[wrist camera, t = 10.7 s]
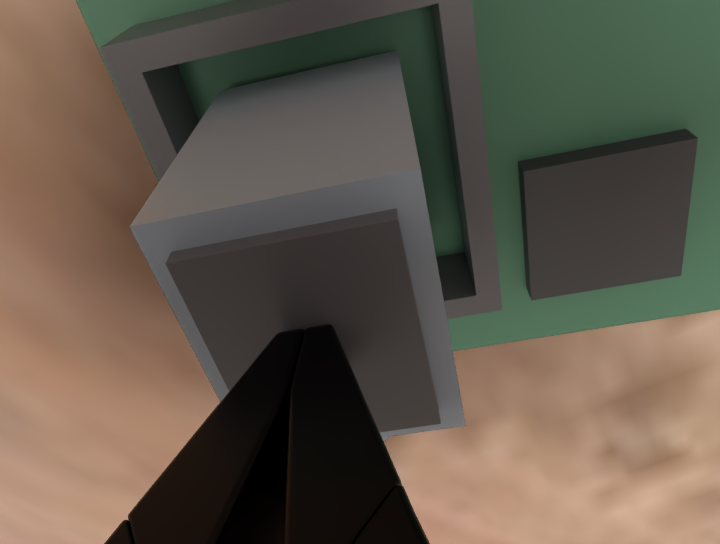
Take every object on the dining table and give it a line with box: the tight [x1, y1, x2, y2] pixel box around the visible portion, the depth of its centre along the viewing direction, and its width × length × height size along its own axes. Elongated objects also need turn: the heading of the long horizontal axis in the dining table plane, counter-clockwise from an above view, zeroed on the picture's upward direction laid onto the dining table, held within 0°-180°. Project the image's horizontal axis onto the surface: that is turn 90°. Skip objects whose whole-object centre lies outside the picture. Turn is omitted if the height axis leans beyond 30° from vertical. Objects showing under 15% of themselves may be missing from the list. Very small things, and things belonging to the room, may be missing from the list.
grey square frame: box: [99, 0, 503, 319], centre depth 13 cm, size 7×8×2 cm
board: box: [76, 0, 720, 351], centre depth 13 cm, size 16×15×3 cm
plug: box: [129, 50, 466, 441], centre depth 11 cm, size 4×6×6 cm
